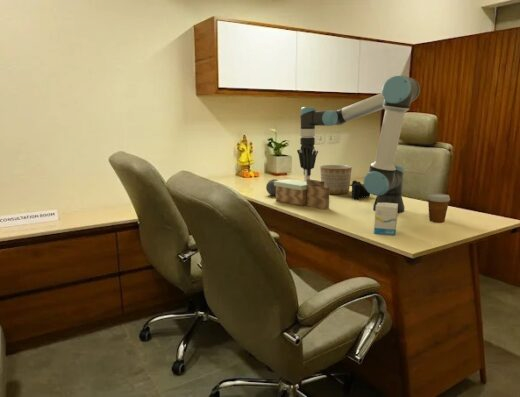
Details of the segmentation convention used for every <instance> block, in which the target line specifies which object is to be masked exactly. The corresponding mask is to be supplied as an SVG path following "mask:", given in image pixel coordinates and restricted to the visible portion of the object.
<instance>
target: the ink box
mask: <svg viewBox="0 0 520 397" xmlns="http://www.w3.org/2000/svg"><path fill="white" fill-rule="evenodd" d="M397 211H398V204H396V203H379V202H378V203H377V205H376V209H375V211H374V212H375V214H374V226H373V229H374V230H373V234H375V235H385V236H396V234H397V224H398V223H397V222H398V214H397Z"/></svg>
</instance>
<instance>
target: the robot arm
mask: <svg viewBox="0 0 520 397" xmlns="http://www.w3.org/2000/svg"><path fill="white" fill-rule="evenodd" d="M420 92H421V86H420V84H419V82H418V81H417V80H416V79H415V78H413V77H408V76H405V75H394V76H391V77H389V78H388V79H387V80H386V81H385V82H384V83H383V85H382V88H381V93H379V94H376V95H373V96H371V97H368V98H364V99H363V100H360V101H357V102H355V103H352V104H350V105H346V106H344V107H342V108H340V109H337V110H331V109H329V110H328V109H327V110H316V108H315V107H314V106H303V107H301V109H300V114H299V115H300V135H299V136H300V141H299V142H300V148H299V149H298V150H297V151H296V152H297V154H298V160H299V164H300V165H299V166H300V168H301V169H302V170H303V175H304V179H303V180H304V181H303V182H307V180H308V179H311V174H312V173H311V171H312V170H313V169H314V168H315V164H316V159H317V156H318V153H319V151H318V150H316V149H315V142H316V141H315V140H316V139H315V136H316V135H315V134H316V126H317V127H318V126H320V127H323V126H324V127H326V126H327V127H331V126H332V127H333V126H342V125H344V124H345V123H347V122H350V121H353V120H356V119H358V118H362V117H364V116H367V115H370V114H373V113H375V112H379V111H382V110H384V113H383V114H384V115H383V120H382V125H381V128H380V129H381V130H380V134H379V137H378V143H377V148H376V152H375V153H376V154H375V158H374V161H373V162H372V163H371V164H369V170H368V173H366V175H365V176H364V178H363V186H364V187H365V189H366V190H367V191H368V192H369V193H370V195H372V196H376V198H375V200H374V202H373V206H372V209H373V211H374V212H375V209H376V205H377V203H378V202H379V203H396V204H398V211H397V215H398V214H403V213H404V212H405V203H404V199H403V197H402V196H403V181H404V168H403V166H401V165H394V164H395V158H396V155H397V152H398V146H399V145H398V144H399V143H400V142H399V141H400V136H401V133H402V127H403V125H404V124H403V122H404V119H405V114H406V112H408V111H409V110H410V107H411V104H412V103H413V102H415V100H417V98H418V97H419V95H420Z"/></svg>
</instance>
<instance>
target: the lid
mask: <svg viewBox="0 0 520 397" xmlns="http://www.w3.org/2000/svg"><path fill="white" fill-rule="evenodd" d="M307 185H309V184H307V182H304V181H302V180H296V179H295V180H294V179H288V178H287V179H281V180H280V179H279V181H274V186H280V187H285V188H291V189H297V190H306V189H307Z"/></svg>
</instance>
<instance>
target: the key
mask: <svg viewBox="0 0 520 397" xmlns="http://www.w3.org/2000/svg"><path fill="white" fill-rule="evenodd" d="M307 184H309V185H315V186H324V181H321V180H317V179H311V178H310V179H308V180H307Z"/></svg>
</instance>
